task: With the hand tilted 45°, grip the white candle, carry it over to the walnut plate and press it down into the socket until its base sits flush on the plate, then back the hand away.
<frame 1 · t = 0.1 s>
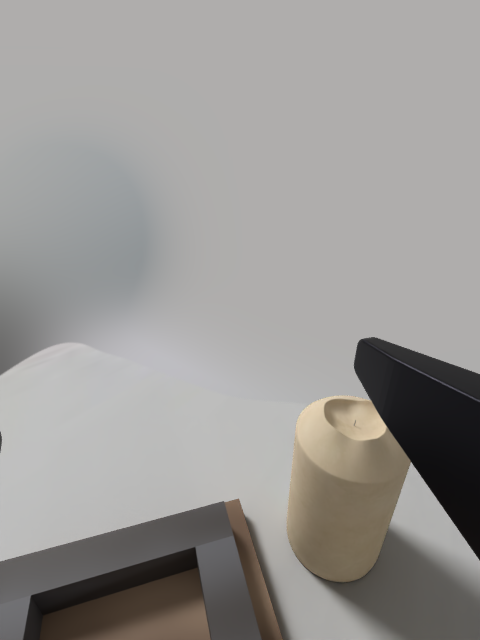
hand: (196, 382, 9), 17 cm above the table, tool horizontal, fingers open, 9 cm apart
candle: (331, 535, 22), on the table
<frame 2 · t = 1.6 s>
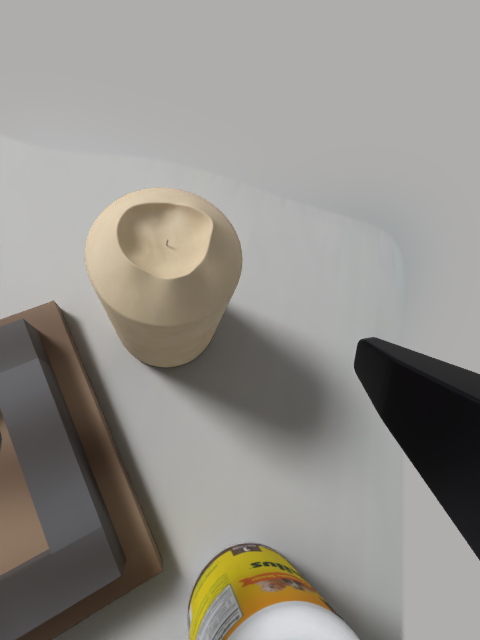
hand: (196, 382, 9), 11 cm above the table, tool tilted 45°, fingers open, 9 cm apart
candle: (167, 322, 21), on the table
supplement bottle: (242, 600, 18), on the table
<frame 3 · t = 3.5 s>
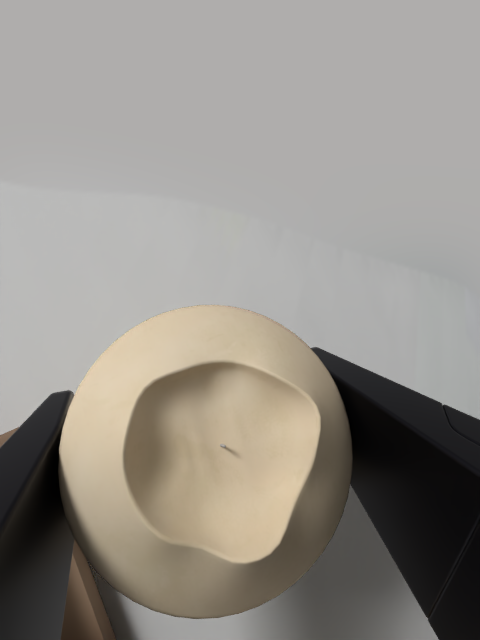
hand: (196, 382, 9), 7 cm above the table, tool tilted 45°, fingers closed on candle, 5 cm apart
candle: (189, 435, 15), on the table, touching gripper
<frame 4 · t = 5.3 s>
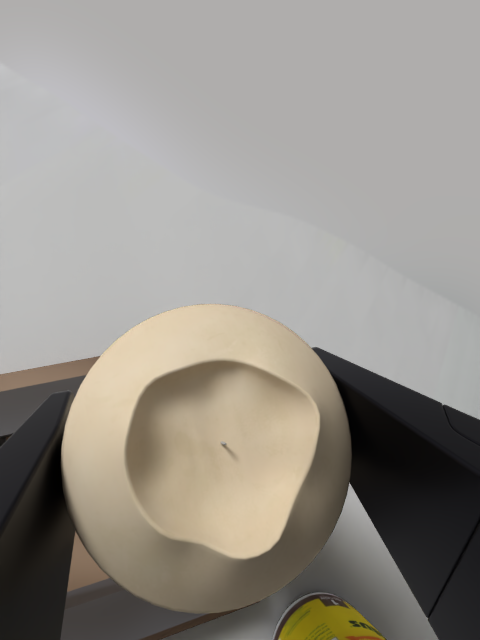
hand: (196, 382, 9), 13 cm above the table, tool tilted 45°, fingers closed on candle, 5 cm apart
candle: (190, 433, 15), point 6 cm above the table, touching gripper
socket: (100, 491, 19), on the table
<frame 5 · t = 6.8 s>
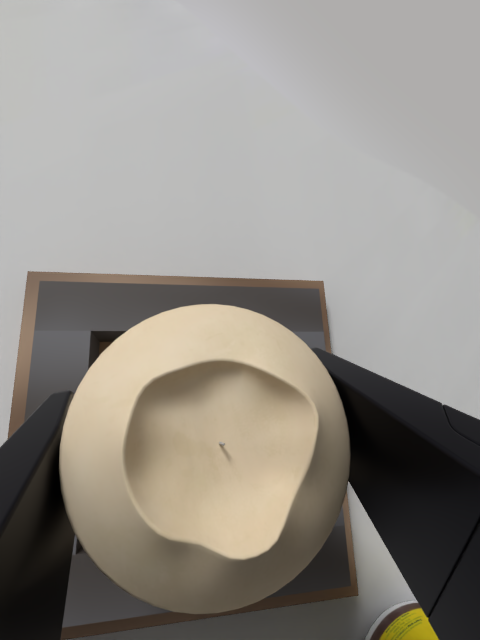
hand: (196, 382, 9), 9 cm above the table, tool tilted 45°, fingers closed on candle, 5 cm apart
candle: (189, 433, 15), point 2 cm above the table, touching gripper
socket: (186, 427, 17), on the table
when the fingers open (8 cm above the table, at t = 7.5 s): candle stays where it is, resting on socket.
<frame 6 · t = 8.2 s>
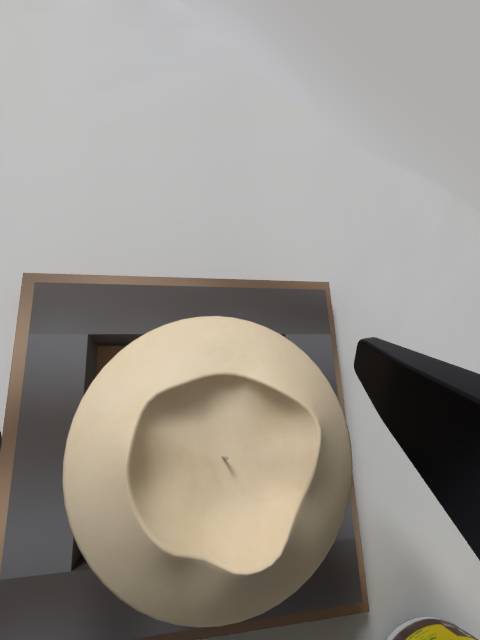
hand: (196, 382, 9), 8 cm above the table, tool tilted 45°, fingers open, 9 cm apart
candle: (190, 440, 15), point 1 cm above the table, touching socket
socket: (187, 435, 16), on the table
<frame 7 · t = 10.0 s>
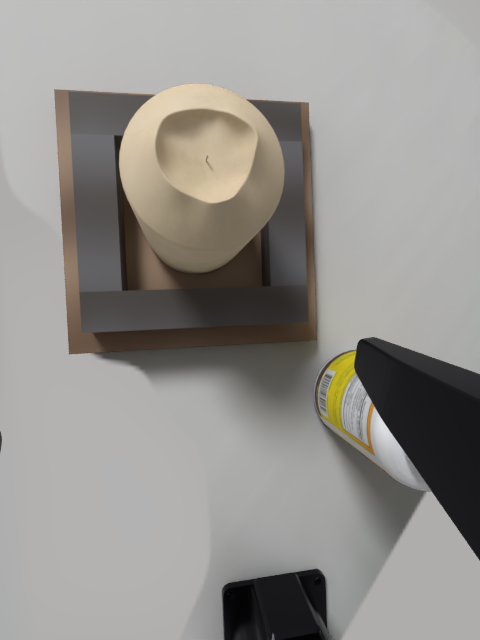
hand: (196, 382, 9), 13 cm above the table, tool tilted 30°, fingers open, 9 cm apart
candle: (195, 227, 21), point 1 cm above the table, touching socket
socket: (193, 227, 22), on the table
supplement bottle: (349, 389, 24), on the table
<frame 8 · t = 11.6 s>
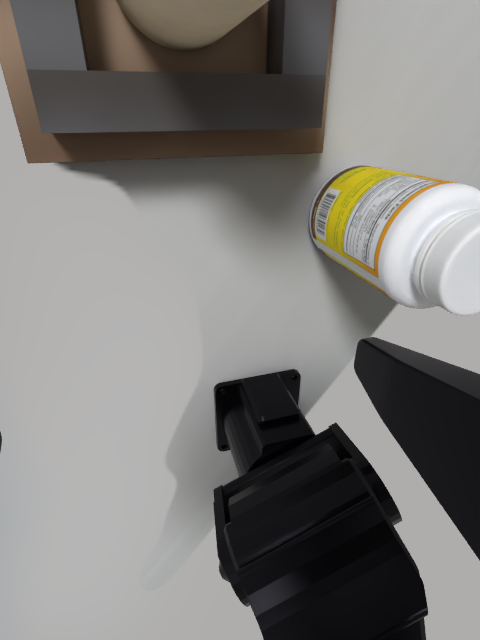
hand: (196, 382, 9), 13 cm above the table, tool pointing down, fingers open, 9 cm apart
supplement bottle: (344, 211, 23), on the table
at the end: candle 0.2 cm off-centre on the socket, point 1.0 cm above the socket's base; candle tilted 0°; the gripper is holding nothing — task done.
